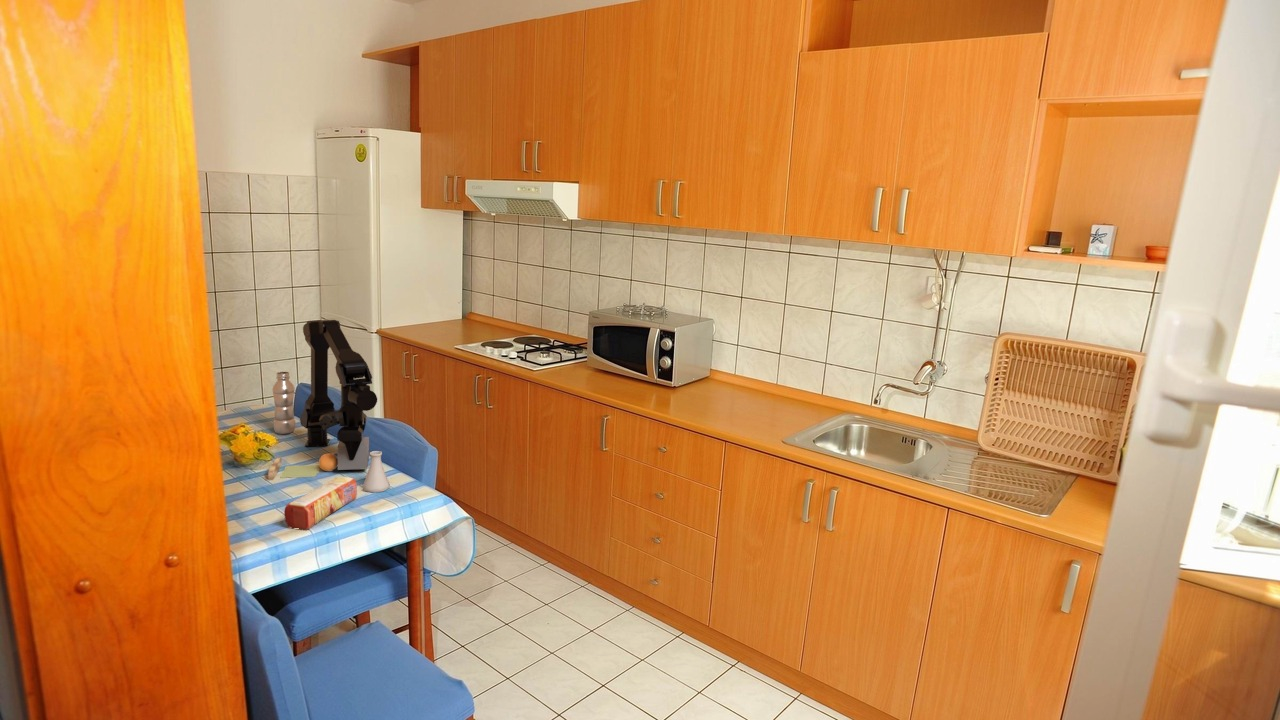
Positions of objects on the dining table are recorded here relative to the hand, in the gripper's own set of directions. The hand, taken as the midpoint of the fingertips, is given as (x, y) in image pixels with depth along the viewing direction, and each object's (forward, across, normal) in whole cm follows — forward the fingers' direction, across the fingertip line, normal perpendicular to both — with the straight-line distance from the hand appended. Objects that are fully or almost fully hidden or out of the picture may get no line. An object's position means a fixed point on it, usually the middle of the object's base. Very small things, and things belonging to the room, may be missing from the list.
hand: (353, 455), depth 208 cm
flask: (+4, +15, +7) cm, 17 cm away
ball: (+2, 0, -6) cm, 7 cm away
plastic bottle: (+5, -38, -24) cm, 45 cm away
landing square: (+4, 0, -14) cm, 14 cm away
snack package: (+5, +30, -4) cm, 31 cm away
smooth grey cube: (+3, 0, 0) cm, 3 cm away
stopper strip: (+4, 0, -20) cm, 21 cm away
